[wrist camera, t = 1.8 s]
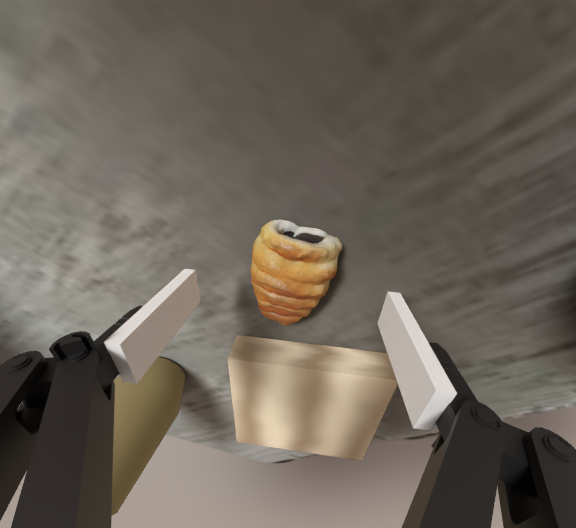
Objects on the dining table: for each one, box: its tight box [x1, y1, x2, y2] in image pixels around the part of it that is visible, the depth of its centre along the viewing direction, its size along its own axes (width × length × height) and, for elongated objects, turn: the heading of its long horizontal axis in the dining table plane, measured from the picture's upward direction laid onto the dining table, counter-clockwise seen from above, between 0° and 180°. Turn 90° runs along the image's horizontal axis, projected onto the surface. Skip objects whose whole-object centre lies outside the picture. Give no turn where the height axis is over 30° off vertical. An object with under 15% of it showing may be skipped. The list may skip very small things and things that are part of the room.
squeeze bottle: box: [111, 357, 186, 516], centre depth 20 cm, size 8×8×18 cm
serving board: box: [228, 335, 398, 461], centre depth 25 cm, size 16×16×3 cm
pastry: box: [251, 219, 342, 326], centre depth 18 cm, size 9×7×4 cm
